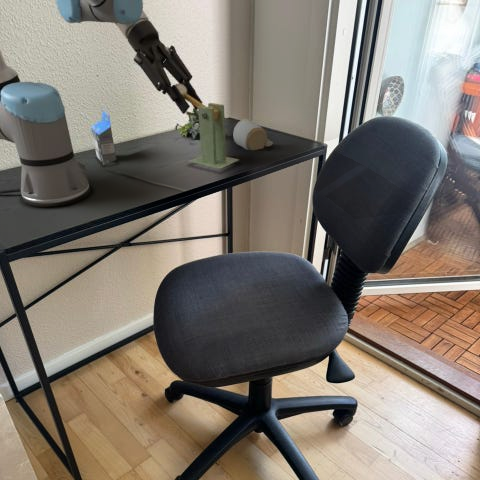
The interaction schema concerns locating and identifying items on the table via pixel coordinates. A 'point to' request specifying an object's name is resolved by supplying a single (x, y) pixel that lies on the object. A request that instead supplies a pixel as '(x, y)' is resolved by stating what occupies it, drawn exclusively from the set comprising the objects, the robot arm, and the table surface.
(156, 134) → the table surface
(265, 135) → the ceramic mug
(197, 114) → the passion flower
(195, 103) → the lever
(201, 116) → the bracket
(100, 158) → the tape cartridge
